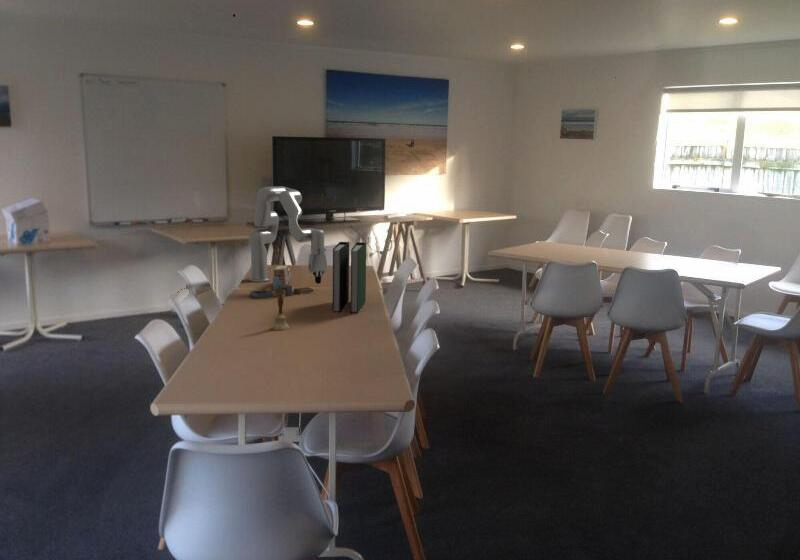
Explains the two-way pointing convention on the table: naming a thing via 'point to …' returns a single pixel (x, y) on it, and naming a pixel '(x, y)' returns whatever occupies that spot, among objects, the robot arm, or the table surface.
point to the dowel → (275, 283)
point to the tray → (260, 294)
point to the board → (303, 290)
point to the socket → (277, 292)
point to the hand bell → (280, 317)
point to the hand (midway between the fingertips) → (318, 283)
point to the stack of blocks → (283, 275)
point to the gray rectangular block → (287, 288)
